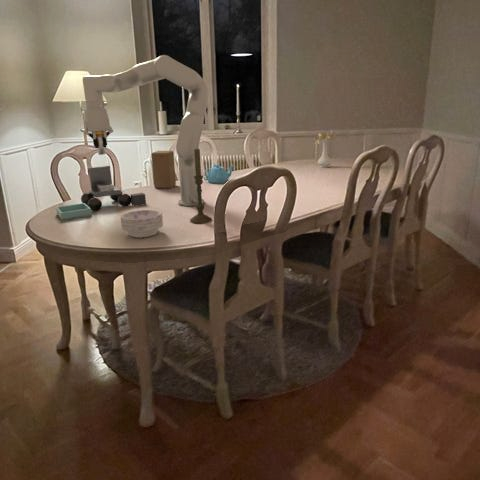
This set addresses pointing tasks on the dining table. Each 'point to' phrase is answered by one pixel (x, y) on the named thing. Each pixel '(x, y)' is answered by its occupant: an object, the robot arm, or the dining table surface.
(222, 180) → the teapot
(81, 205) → the tray
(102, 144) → the stop pin
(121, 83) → the robot arm
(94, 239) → the dining table surface
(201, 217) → the candlestick holder
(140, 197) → the chock
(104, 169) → the trolley
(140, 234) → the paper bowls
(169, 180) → the wooden block
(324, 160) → the flower vase
